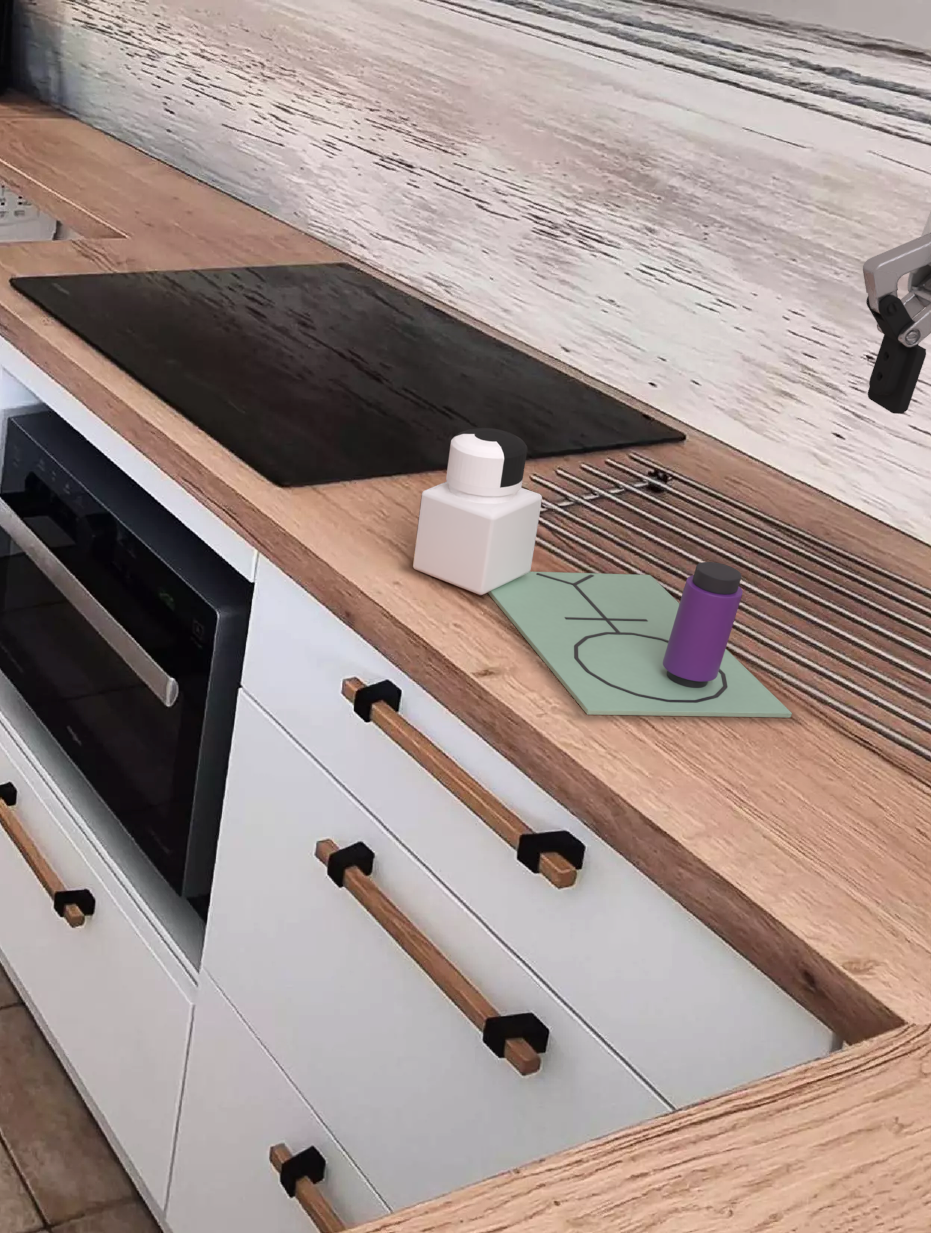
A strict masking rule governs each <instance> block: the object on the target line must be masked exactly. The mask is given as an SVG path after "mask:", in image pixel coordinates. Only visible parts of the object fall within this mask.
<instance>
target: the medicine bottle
mask: <svg viewBox="0 0 931 1233" xmlns="http://www.w3.org/2000/svg"><path fill="white" fill-rule="evenodd" d="M527 454H528V446H527V444H526V443H525V441H524V439H522V438H520V437H519V436H517V435H515V434H513V433H512V432H509V431H506V430H502V429H498V428H491V427H490V428H489V427H478V428H477V427H476V428H470V429H467V430H462V431H460V432H458V433H456V434H455V435H454V436H453V437H452V438H451V440H450V446H449V453H448V461H447V468H446V477H445V478H446V479H445V480H446V481H445V482H442V483H439V484H436V485H435V486H432V487H429V488H426V489H425V490H423V491H422V492H421V495H420V503H419V504H420V505H419V510H418V511H419V512H418V513H419V514H418V520H417V528H416V536H415V544H414V552H413V561H412V567H413V569H414V570H416V571H417V572H421V573H423V574H425V575H428V576H431V577H434V578H436V579H438V580H441V581H443V582H446V583H449V584H450V585H453V586H456V587H458V588H461V589H463V590H466V591H468V592H471V593H473V594H477V595H479V596H483V595H486V594H488V593H487V592H489V591H491V590H493V589H496V588H498V587H500V586H502V585H504V584H506V583H508V582H510V581H512V580H514V579H516V578H518V577H520V576H523V575H525V574H527V573H529V572H531V570H532V565H533V564H532V563H533V558H534V551H535V546H536V538H537V533H538V527H539V520H540V514H541V509H542V502H543V501H542V500H543V496H542V494H540V493H539V492H536V491H532V490H530V489H529V490H528V489H527V488H524V487H523V480H524V474H525V467H526V461H527Z"/></svg>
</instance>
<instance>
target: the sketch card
mask: <svg viewBox="0 0 931 1233" xmlns="http://www.w3.org/2000/svg"><path fill="white" fill-rule="evenodd" d="M486 594H488V595H489V597H490V598H491V599H492V600H493V602H494V603H495V604H496V605H497V607H498V608H499V609H500V610H501V611H502V612H503V614H504V615H505V616H506V618H507V619H508V620H509V621H510V622H511V623H512V625H513V626H514V627H515V628H516V630H518V632H519V633H520V634H521V636H522V637H523V639H525V640H526V642H527V643H528V644H529V646H530V647H531V648H532V649H533V650H534V651H535V653H536V654H537V656H539V658H540V659H541V660H542V661H543V663H544V664H545V665H546V666H547V667H548V669H549V670H550V672H552V674H553V675H554V676H555V677H556V678H557V680H558V681H559V682H560V684H562V686H563V687H564V688H565V689H566V691H567V692H568V693H569V695H570V696H571V697H572V698H573V699H574V701H575V702H576V703H577V704H578V705H579V707H581V709H582V710H583V711H584V713H585V714H586V715H587V716H588V715H589V716H591V715H592V716H593V715H595V716H655V717H656V716H657V717H658V716H660V717H662V716H663V717H722V718H723V717H724V718H725V717H726V718H789V719H790V718H792V715H793V713H792V711H790V709H788V707H786V706H785V704H783V703H782V702H781V701H780V700H779V699H778V698H777V697H776V696H775V694H773V693H772V692H771V691H770V690H769V689H768V688H767V687H766V686H765V685H764V684H763V683H762V682H761V681H760V680H758V678H757V677H756V676H755V675H754V674H753V673H752V672H750V670H748V669H747V668H746V667H745V666H744V664H742V663H741V662H740V661H739V660H738V659H737V658H736V657H735V655H733V654H732V653H731V652H730V651H729V650H728V649H727V648H726V649H725V652H724V656H723V659H722V662H721V665H720V669H719V672H718V675H717V677H716V678H715V679H714V680H711V681H708V684H707V685H706V686H705V687H702V688H690V687H685V686H682V685H679V684H677V683H675V682H673V681H671V680H670V679H669V678H668V677H667V670H666V669H665V667H664V666H663V659H664V656H665V652H666V649H667V645H668V642H669V638H670V635H671V631H672V628H673V625H674V621H675V618H676V614H677V611H678V607H679V604H680V602H678V601H677V600H676V598H675V597H673V596H672V595H671V593H669V591H667V590H666V589H665V587H663V585H661V584H660V583H659V582H658V581H657V580H656V579H655V578H654V577H653V576H652V575H651V574H631V573H629V574H627V573H597V572H596V573H595V572H594V573H593V572H564V571H563V572H559V571H558V572H556V571H530V572H529V573H527V574H525V575H523V576H520V577H518V578H516V579H514V580H512V581H510V582H508V583H506V584H504V585H502V586H500V587H498V588H496V589H493V590H491V591H489V592H487V593H486Z"/></svg>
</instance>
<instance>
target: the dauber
mask: <svg viewBox="0 0 931 1233" xmlns="http://www.w3.org/2000/svg"><path fill="white" fill-rule="evenodd" d="M741 580H742V573H741V572H740V571H739V570H738V569H736V568H734V567H733V566H730V565H727V564H726V563H725V564H724V563H720V562H715V561H703V562H699V563H697V564H696V565H695V570H694V573H693V574H692V575H690V576H688V577H687V578H686V580H685V584H684V586H683V590H682V594H681V596H680V597H681V598H680V600H679V607H678V611H677V614H676V618H675V621H674V625H673V628H672V631H671V635H670V638H669V642H668V645H667V649H666V652H665V656H664V659H663V666H664V667H665V669H666V670H667V677H668V678H669V679H670V680H671V681H673V682H675V683H677V684H679V685H682V686H685V687H690V688H702V687H705V686H706V685H707V684H708V681H711V680H714V679H715V678H716V677H717V675H718V672H719V669H720V665H721V662H722V659H723V656H724V652H725V649H727V645H728V642H729V639H730V636H731V633H732V629H733V626H734V623H735V620H736V617H737V613H738V610H739V606H740V603H741V600H742V597H743V593H744V592H743V589H742V587H741V586H740V583H741Z"/></svg>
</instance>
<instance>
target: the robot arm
mask: <svg viewBox="0 0 931 1233" xmlns="http://www.w3.org/2000/svg"><path fill="white" fill-rule="evenodd" d="M862 274H863V280H864V285H865V286H864V287H865V293H866V294H867V298H866V306H867V308H868V310H869V312H870V314H871V315H872V316H873V318H874V320H875V322H876V329H877V331H878V332H879V333H881V334H883V337H882V341H881V344H880V346H879V349H878V352H877V355H876V359H875V362H874V365H873V368H872V370H871V374H870V377H869V382H868V385H869V386H868V391H867V397H868V399H869V400H870V401H872V402H874V403H875V404H876V405H878V406H880V407H881V408H883V409H885V410H886V411H888V412H890V413H891V414H894V415H895V414H896V415H897V414H898V415H902V414H904V413H906V412H907V411H908V410H909V407H910V403H911V401H912V398H913V395H914V392H915V389H916V387H917V383H918V381H919V378H920V374H921V372H922V368H923V365H924V363H925V359H926V356H927V348H925V347H923V346H921V345H919V344H920V343H921V342H922V341H923V340H925V338H927V337H928V336H929V335H930V334H931V211H929V214H928V217H927V220H926V222H925V224H924V227H923V230H922V232H921V234H920V236H919V237H916V238H914V239H912V240H910V241H907V242H905V243H903V244H900V245H897V246H895V247H893V248H890V249H888V250H886V251H884V252H882V253H879V254H877V255H874V256H872V257H870V258H868V259H866V260H865V261H864V263H863V265H862ZM907 274H908V277H907V278H908V279H907V292H908V293H906V294H905V295H904V296H902V298H901V299H900V298H899V296H898V291H899V287H898V283H899V281H900V279H901V278H902V277H903V276H905V275H907Z"/></svg>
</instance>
